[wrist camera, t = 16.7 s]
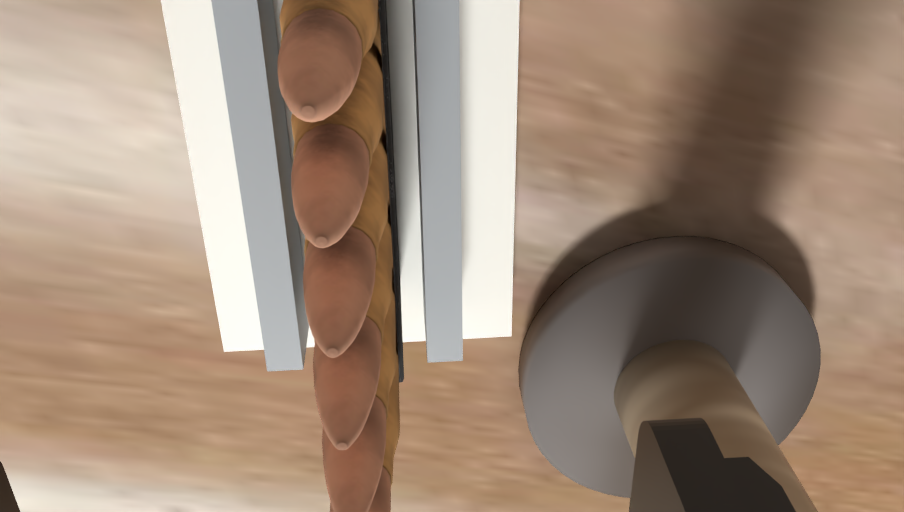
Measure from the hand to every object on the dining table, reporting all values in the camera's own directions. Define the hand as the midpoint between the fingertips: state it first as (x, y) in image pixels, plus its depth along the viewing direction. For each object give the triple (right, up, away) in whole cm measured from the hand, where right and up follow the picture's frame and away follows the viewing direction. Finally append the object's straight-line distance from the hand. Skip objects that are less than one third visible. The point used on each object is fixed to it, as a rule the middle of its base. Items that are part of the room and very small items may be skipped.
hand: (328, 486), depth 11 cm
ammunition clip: (-1, +7, +12) cm, 14 cm away
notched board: (-1, +7, +13) cm, 15 cm away
